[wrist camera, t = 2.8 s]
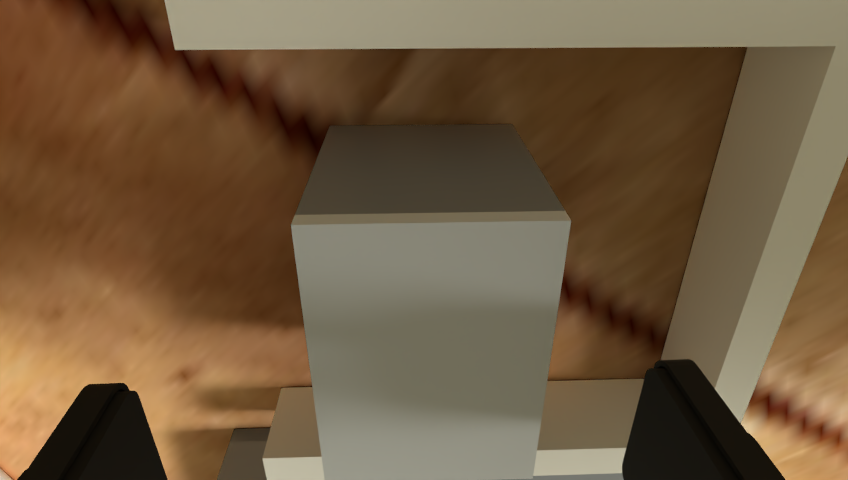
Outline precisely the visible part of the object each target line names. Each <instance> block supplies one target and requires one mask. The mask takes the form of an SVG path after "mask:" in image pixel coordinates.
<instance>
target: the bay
mask: <svg viewBox="0 0 848 480" xmlns="http://www.w3.org/2000/svg"><path fill="white" fill-rule="evenodd" d="M164 1H165V6H166V10H167V15H168V20H169V24H170V29H171V34H172V38H173V43H174V48H175V50H258V49H436V48H615V47H747V51H746V54H745V58H744V61H743V65H742V69H741V72H740V76H739V79H738V83H737V87H736V90H735V94H734V97H733V101H732V105H731V108H730V112H729V115H728V119H727V123H726V126H725V130H724V133H723V137H722V141H721V144H720V148H719V151H718V155H717V159H716V162H715V166H714V169H713V173H712V177H711V180H710V184H709V187H708V191H707V195H706V198H705V202H704V205H703V209H702V213H701V216H700V220H699V223H698V227H697V231H696V234H695V238H694V241H693V245H692V248H691V252H690V256H689V259H688V263H687V266H686V270H685V274H684V277H683V281H682V284H681V288H680V292H679V295H678V299H677V302H676V306H675V310H674V313H673V317H672V320H671V324H670V328H669V331H668V335H667V338H666V342H665V346H664V349H663V353H662V356H661V360H678V359H690V360H692V361H694V362H695V363H696V364H697V366H698V367H699V368H700V370H701V371H702V372H703V374H704V375H705V376H706V378H707V379H708V380H709V382H710V383H711V384H712V386H713V387H714V389H715V390H716V391H717V393H718V394H719V395H720V397H721V398H722V399H723V401H724V402H725V403H726V405H727V406H728V407H729V409H730V410H731V412H732V413H733V414H734V416H735V417H736V418H737V420H738V421H739V422H740V423H741V421H742V418H743V416H744V414H745V411H746V409H747V406H748V404H749V401H750V399H751V396H752V394H753V391H754V389H755V386H756V384H757V381H758V379H759V376H760V374H761V371H762V369H763V366H764V364H765V361H766V359H767V356H768V354H769V351H770V349H771V346H772V344H773V341H774V339H775V336H776V334H777V331H778V329H779V326H780V324H781V321H782V319H783V316H784V314H785V311H786V309H787V306H788V304H789V302H790V299H791V297H792V294H793V292H794V289H795V287H796V284H797V282H798V279H799V277H800V274H801V272H802V269H803V267H804V264H805V262H806V259H807V257H808V254H809V252H810V249H811V247H812V244H813V242H814V239H815V237H816V234H817V232H818V229H819V227H820V224H821V222H822V219H823V217H824V214H825V212H826V209H827V207H828V204H829V202H830V199H831V197H832V194H833V192H834V190H835V187H836V185H837V182H838V180H839V177H840V175H841V172H842V170H843V167H844V165H845V162H846V160H847V157H848V0H164ZM643 382H644V379H612V380H572V381H547V386H546V393H545V400H544V406H543V413H542V420H541V427H540V433H539V440H538V447H537V453H536V460H535V467H534V473H533V476H548V475H581V474H614V473H622V463H623V459H624V455H625V451H626V447H627V444H628V440H629V436H630V432H631V428H632V424H633V421H634V417H635V413H636V409H637V405H638V402H639V398H640V394H641V390H642V386H643ZM262 459H263V464H264V469H265V473H266V478H267V480H325V479H324V471H323V464H322V456H321V449H320V441H319V434H318V426H317V418H316V411H315V403H314V396H313V388H312V387H293V388H281V391H280V395H279V399H278V402H277V406H276V410H275V413H274V417H273V421H272V425H271V428H270V432H269V436H268V439H267V443H266V447H265V450H264V454H263V458H262Z"/></svg>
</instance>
